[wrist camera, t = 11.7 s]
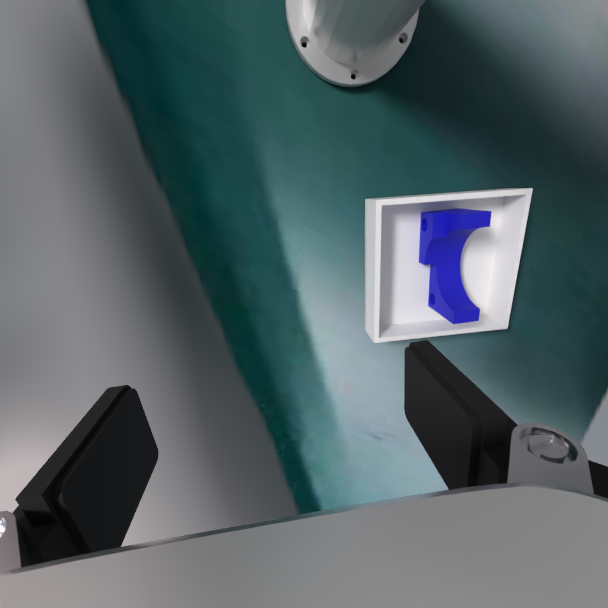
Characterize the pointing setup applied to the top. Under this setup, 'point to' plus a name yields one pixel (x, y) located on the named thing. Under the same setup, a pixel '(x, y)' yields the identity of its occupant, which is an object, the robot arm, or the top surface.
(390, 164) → the top surface
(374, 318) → the tray
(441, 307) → the cable clip
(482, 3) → the top surface
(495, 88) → the top surface
